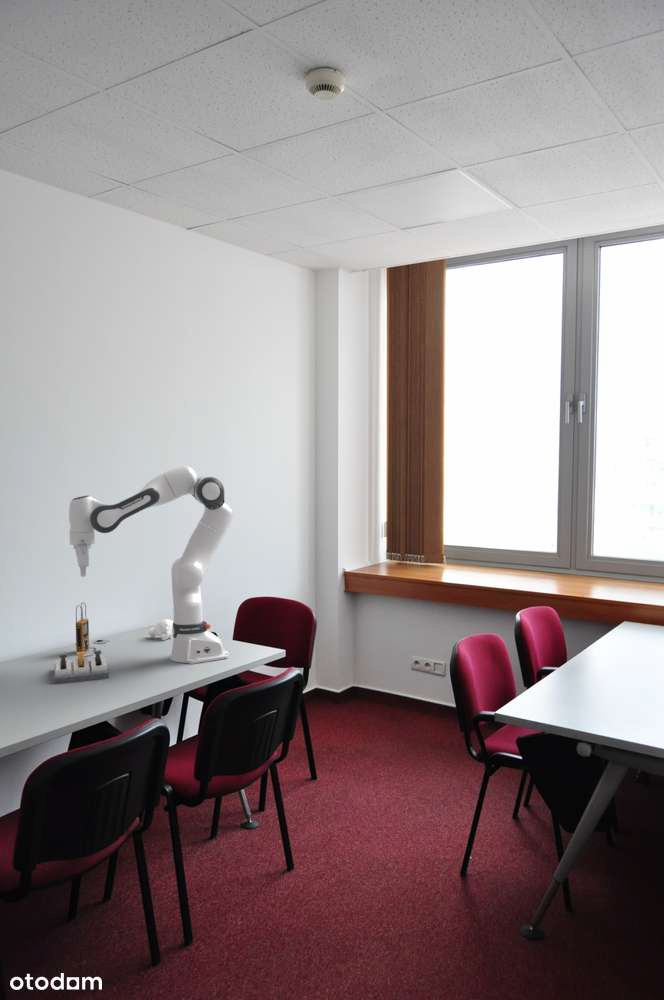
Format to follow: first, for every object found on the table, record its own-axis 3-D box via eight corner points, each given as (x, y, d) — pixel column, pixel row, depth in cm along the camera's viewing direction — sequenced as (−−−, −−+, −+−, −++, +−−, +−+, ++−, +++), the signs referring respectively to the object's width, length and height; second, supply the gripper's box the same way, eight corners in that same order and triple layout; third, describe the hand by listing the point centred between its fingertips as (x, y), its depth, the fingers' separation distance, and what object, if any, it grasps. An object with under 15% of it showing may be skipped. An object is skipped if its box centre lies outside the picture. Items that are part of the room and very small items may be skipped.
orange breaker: (84, 665, 270) (83, 653, 270) (77, 666, 270) (77, 653, 269) (84, 664, 272) (83, 651, 272) (77, 664, 271) (76, 652, 271)
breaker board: (108, 678, 262) (108, 667, 262) (54, 684, 256) (54, 672, 255) (105, 664, 280) (105, 654, 279) (54, 669, 273) (54, 659, 273)
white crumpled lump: (167, 620, 315) (143, 621, 319) (169, 640, 315) (145, 641, 319) (175, 617, 321) (152, 618, 325) (177, 637, 321) (154, 637, 325)
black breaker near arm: (101, 663, 272) (101, 651, 272) (94, 664, 272) (94, 652, 271) (101, 662, 274) (100, 650, 274) (94, 663, 273) (94, 650, 273)
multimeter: (98, 657, 290) (96, 607, 289) (72, 657, 291) (71, 607, 290) (110, 647, 305) (108, 599, 304) (86, 648, 305) (84, 600, 304)
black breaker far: (66, 667, 268) (66, 654, 268) (59, 668, 267) (59, 655, 267) (66, 665, 270) (66, 653, 270) (59, 666, 269) (59, 654, 269)
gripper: (92, 541, 267) (93, 579, 268) (89, 536, 286) (90, 571, 287) (73, 542, 265) (74, 580, 266) (72, 537, 284) (73, 572, 285)
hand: (83, 576), depth 276 cm, fingers closed
